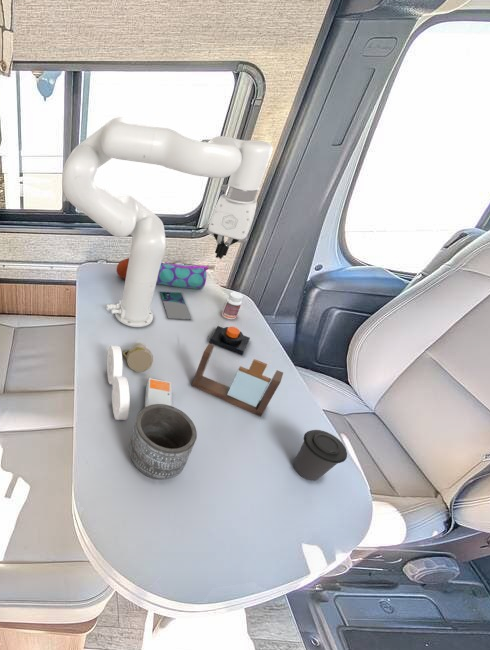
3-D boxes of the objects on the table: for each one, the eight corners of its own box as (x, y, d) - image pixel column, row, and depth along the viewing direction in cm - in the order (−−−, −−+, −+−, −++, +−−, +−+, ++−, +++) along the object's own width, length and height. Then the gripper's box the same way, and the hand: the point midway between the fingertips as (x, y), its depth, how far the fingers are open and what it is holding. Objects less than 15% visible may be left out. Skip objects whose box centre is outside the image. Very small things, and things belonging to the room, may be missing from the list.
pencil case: (145, 286, 146) (150, 263, 140) (146, 274, 153) (151, 252, 147) (202, 295, 143) (210, 272, 137) (201, 282, 150) (208, 260, 144)
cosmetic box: (171, 381, 101) (172, 417, 92) (168, 392, 104) (168, 428, 95) (148, 376, 102) (146, 411, 93) (145, 388, 105) (143, 423, 96)
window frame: (191, 385, 106) (203, 351, 99) (196, 377, 109) (208, 343, 101) (260, 416, 99) (280, 382, 91) (264, 407, 101) (283, 372, 94)
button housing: (208, 342, 121) (212, 333, 119) (216, 329, 127) (219, 321, 124) (242, 355, 117) (246, 346, 115) (248, 341, 122) (252, 333, 120)
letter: (105, 365, 112) (110, 338, 106) (113, 365, 112) (118, 338, 106) (115, 428, 94) (122, 400, 88) (124, 428, 94) (131, 400, 88)
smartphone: (168, 317, 130) (160, 291, 143) (167, 318, 131) (159, 292, 143) (191, 319, 130) (181, 292, 143) (190, 320, 130) (180, 293, 143)
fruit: (121, 269, 156) (124, 251, 151) (142, 276, 152) (145, 258, 147) (111, 278, 150) (113, 260, 145) (131, 286, 146) (135, 267, 141)
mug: (149, 351, 117) (162, 340, 108) (140, 380, 114) (152, 371, 104) (126, 341, 118) (136, 329, 109) (116, 370, 114) (126, 360, 105)
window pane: (226, 395, 102) (244, 357, 94) (227, 393, 103) (245, 355, 94) (255, 407, 99) (276, 369, 91) (256, 405, 99) (276, 367, 91)
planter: (123, 438, 92) (132, 402, 84) (175, 440, 92) (188, 404, 84) (130, 486, 82) (140, 450, 75) (187, 489, 82) (204, 453, 75)
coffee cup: (311, 492, 83) (334, 466, 77) (278, 462, 88) (297, 435, 82) (335, 477, 86) (358, 450, 80) (301, 448, 91) (321, 421, 85)
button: (224, 335, 119) (226, 330, 118) (227, 329, 122) (229, 325, 121) (236, 339, 118) (238, 335, 117) (239, 333, 120) (241, 329, 119)
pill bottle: (238, 320, 131) (246, 299, 126) (223, 319, 131) (231, 298, 126) (233, 311, 135) (241, 291, 130) (219, 311, 135) (227, 290, 130)
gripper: (207, 190, 102) (190, 253, 114) (268, 204, 96) (243, 269, 107) (216, 183, 107) (198, 244, 119) (274, 195, 101) (249, 259, 112)
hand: (219, 256), depth 113 cm, fingers closed
